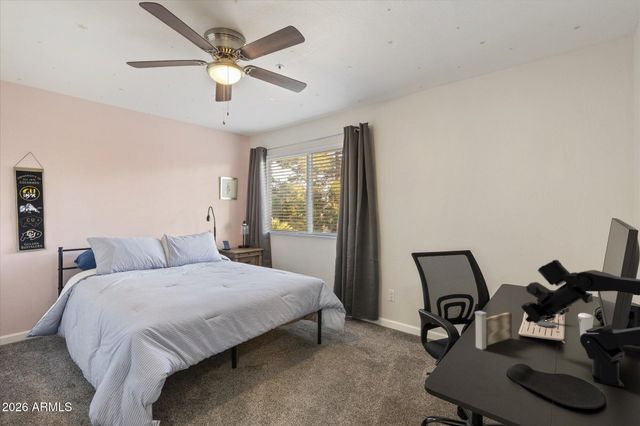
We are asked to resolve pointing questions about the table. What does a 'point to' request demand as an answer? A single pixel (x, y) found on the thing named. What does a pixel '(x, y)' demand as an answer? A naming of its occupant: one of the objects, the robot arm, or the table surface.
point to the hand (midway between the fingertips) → (527, 320)
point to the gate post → (480, 329)
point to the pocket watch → (547, 323)
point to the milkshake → (585, 322)
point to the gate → (498, 328)
